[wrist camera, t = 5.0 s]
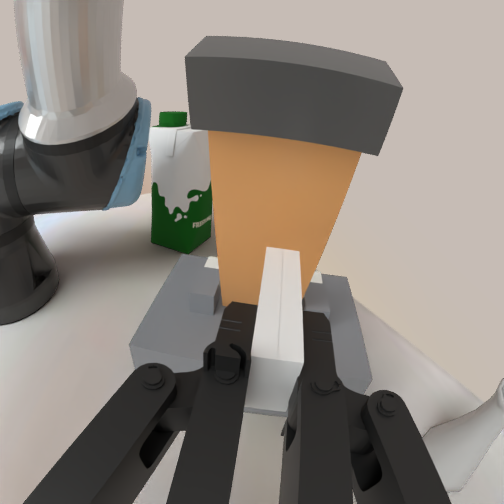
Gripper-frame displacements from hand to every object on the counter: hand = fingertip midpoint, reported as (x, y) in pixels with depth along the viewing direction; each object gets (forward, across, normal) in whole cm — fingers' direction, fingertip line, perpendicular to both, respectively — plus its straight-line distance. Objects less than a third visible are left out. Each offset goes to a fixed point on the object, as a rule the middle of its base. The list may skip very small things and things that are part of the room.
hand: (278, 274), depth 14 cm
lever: (+9, -1, -9) cm, 12 cm away
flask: (-4, +18, -15) cm, 24 cm away
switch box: (+9, -1, -15) cm, 17 cm away
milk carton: (+30, -14, -15) cm, 36 cm away
